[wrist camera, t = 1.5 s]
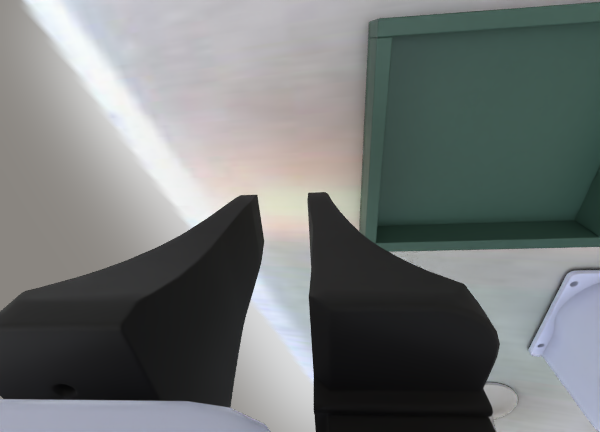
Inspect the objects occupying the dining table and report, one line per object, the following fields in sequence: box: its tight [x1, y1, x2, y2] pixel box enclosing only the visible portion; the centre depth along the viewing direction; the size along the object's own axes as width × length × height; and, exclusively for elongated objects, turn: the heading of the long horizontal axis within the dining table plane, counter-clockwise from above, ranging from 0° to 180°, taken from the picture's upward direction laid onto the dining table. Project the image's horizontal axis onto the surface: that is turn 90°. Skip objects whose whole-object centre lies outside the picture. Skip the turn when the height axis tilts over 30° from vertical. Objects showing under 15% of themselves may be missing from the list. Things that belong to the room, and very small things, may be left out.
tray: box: [359, 2, 600, 252], centre depth 16 cm, size 12×14×2 cm
